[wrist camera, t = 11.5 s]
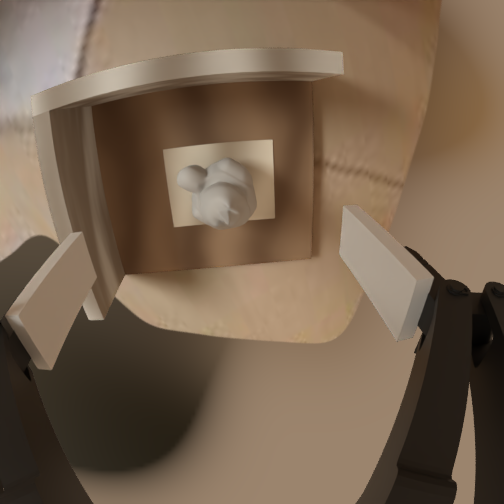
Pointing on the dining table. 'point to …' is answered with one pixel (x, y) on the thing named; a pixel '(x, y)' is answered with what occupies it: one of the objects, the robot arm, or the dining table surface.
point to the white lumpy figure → (220, 193)
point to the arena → (181, 159)
